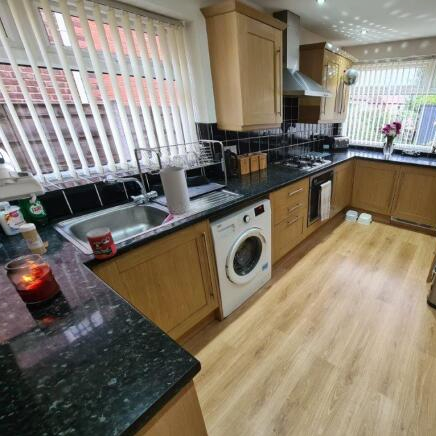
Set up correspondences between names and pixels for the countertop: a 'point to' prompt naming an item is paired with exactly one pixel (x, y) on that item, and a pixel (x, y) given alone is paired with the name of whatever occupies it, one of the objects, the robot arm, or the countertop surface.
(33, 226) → the sprinkles bottle
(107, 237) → the canned food
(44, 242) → the cork coaster
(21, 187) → the robot arm
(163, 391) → the countertop surface
